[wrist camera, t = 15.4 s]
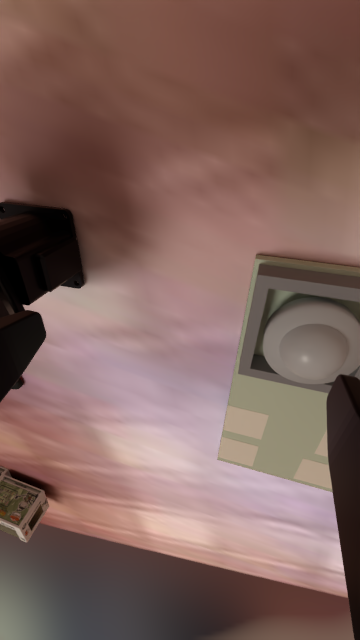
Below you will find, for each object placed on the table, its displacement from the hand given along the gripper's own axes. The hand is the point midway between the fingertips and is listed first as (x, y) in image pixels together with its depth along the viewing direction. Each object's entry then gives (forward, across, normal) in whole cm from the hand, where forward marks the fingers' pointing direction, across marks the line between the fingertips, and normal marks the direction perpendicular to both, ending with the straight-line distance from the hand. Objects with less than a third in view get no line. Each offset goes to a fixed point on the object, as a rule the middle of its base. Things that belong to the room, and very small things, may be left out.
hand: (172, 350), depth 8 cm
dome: (+12, -6, +6) cm, 15 cm away
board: (+13, -9, +14) cm, 21 cm away
